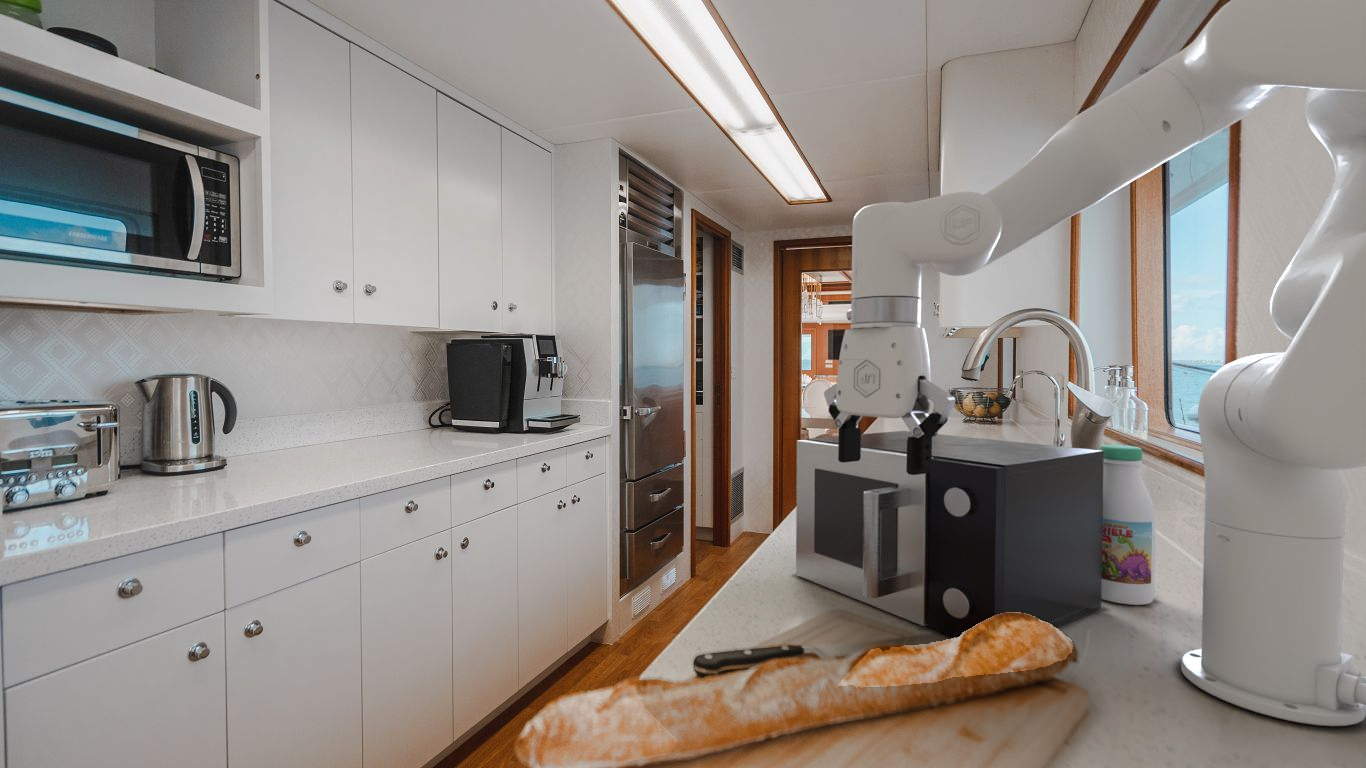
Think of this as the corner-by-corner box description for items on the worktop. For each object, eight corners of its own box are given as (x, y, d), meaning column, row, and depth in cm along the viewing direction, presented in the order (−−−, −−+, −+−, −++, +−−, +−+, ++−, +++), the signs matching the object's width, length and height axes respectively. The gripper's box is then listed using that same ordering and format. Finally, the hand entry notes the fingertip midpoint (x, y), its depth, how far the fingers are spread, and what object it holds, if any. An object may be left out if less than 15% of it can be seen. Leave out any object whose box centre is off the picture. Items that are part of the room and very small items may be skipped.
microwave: (989, 656, 66) (991, 467, 65) (793, 576, 91) (793, 439, 90) (1101, 608, 79) (1103, 450, 78) (902, 550, 104) (903, 430, 103)
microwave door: (886, 639, 69) (888, 462, 69) (761, 583, 88) (761, 443, 87) (932, 623, 74) (934, 457, 73) (803, 573, 92) (804, 439, 92)
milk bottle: (1091, 581, 89) (1094, 441, 88) (1159, 595, 83) (1162, 446, 83) (1077, 595, 83) (1079, 446, 83) (1148, 611, 78) (1151, 451, 77)
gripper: (806, 319, 76) (804, 459, 76) (931, 309, 61) (927, 482, 62) (849, 322, 80) (847, 455, 80) (976, 313, 65) (971, 476, 66)
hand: (881, 467), depth 71 cm, fingers open, 9 cm apart
